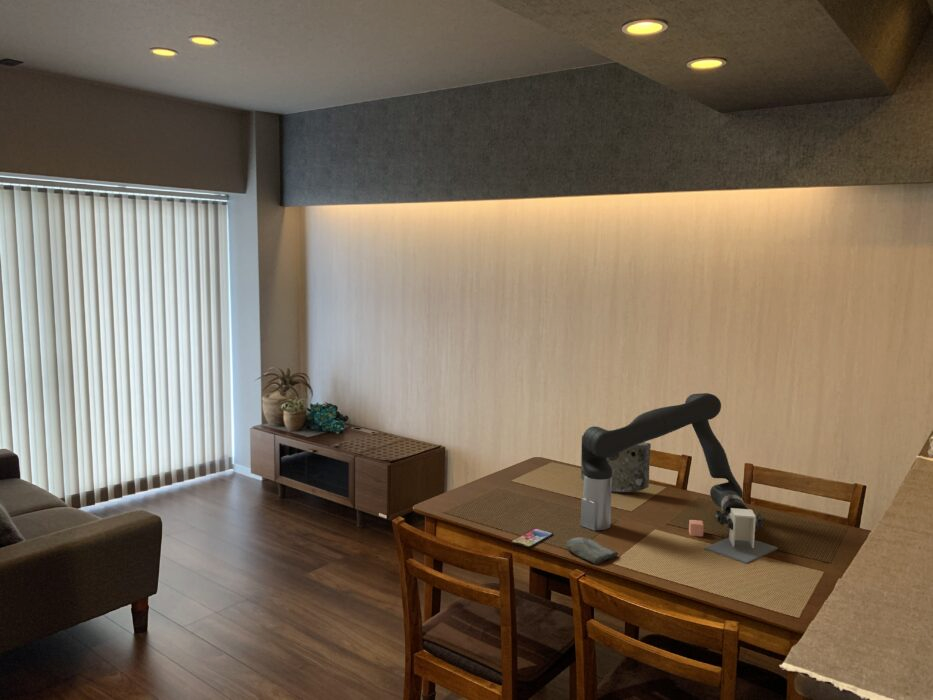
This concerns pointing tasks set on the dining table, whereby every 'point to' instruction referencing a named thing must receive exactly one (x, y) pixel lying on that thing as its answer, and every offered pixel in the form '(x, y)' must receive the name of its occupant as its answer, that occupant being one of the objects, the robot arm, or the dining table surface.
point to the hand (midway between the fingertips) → (743, 527)
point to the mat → (741, 549)
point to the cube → (696, 528)
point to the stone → (590, 550)
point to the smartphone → (531, 538)
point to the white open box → (742, 526)
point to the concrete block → (629, 468)
